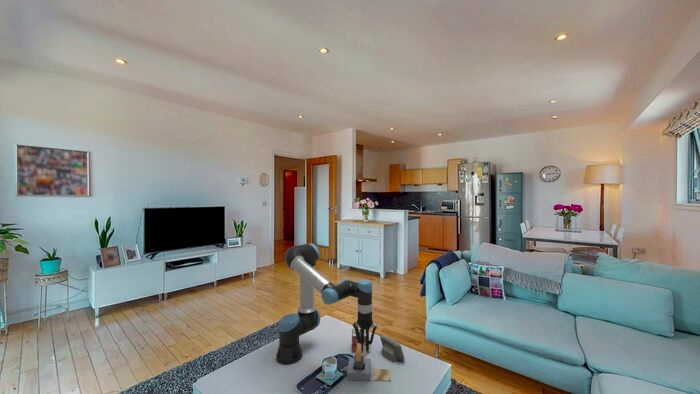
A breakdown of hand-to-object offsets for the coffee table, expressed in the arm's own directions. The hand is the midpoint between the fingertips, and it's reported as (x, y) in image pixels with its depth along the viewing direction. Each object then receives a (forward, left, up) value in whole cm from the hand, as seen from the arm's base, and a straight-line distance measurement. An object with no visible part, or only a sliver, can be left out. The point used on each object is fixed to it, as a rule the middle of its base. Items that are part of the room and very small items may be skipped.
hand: (365, 356), depth 141 cm
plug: (-3, +4, -11) cm, 13 cm away
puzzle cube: (-4, +28, -12) cm, 31 cm away
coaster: (+9, +3, -11) cm, 15 cm away
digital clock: (+15, +21, -12) cm, 29 cm away
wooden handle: (-3, +5, -1) cm, 6 cm away
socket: (-3, +4, -11) cm, 13 cm away
